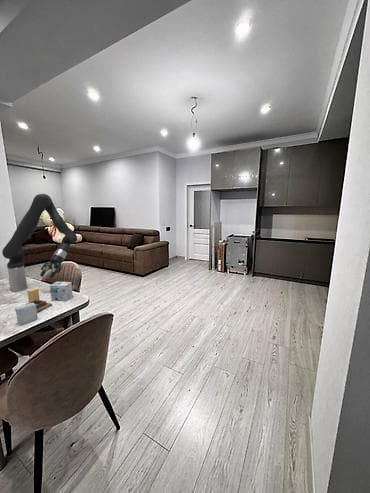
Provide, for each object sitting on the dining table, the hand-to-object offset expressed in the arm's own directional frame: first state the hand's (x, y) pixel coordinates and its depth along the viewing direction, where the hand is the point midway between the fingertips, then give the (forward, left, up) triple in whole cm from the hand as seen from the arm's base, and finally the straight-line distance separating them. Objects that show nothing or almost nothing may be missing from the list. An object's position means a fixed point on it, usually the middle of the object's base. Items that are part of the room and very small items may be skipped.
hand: (46, 276), depth 134 cm
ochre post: (0, -10, -13) cm, 16 cm away
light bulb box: (+14, -1, -13) cm, 19 cm away
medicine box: (+19, -28, -13) cm, 36 cm away
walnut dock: (+10, -17, -13) cm, 23 cm away
